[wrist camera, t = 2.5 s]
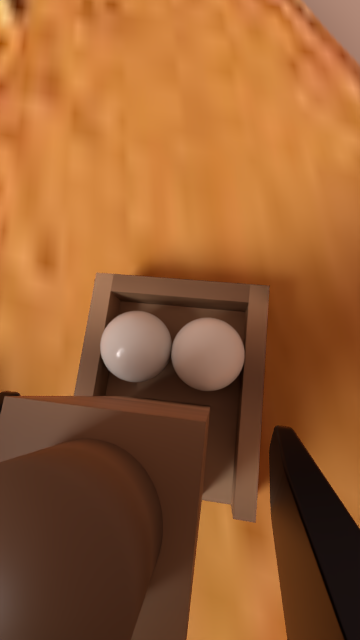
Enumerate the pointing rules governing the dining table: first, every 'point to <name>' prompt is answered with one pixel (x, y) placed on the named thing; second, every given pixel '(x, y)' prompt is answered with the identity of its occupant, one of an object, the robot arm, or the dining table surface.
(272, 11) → the dining table surface
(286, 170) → the dining table surface
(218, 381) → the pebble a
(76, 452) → the brown wooden box
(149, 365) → the white round ball
